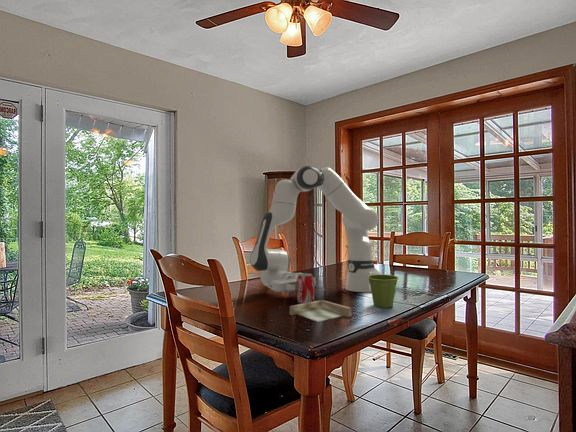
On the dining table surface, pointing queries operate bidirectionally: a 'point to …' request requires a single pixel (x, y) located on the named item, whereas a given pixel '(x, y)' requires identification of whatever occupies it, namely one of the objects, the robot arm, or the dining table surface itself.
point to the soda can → (305, 288)
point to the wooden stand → (320, 310)
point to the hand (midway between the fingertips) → (304, 286)
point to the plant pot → (383, 289)
